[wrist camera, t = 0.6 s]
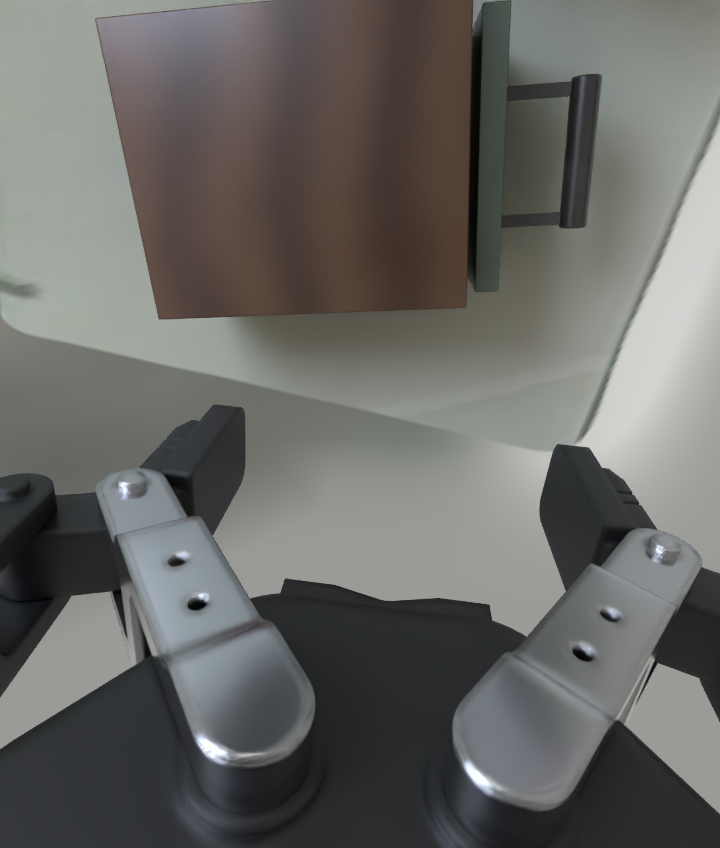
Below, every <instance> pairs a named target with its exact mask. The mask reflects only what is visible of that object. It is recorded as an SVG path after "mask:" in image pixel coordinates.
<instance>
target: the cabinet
mask: <svg viewBox="0 0 720 848" xmlns="http://www.w3.org/2000/svg"><path fill="white" fill-rule="evenodd" d="M95 21H96V25H97V30H98V35H99V39H100V44H101V49H102V54H103V58H104V63H105V68H106V72H107V77H108V82H109V87H110V91H111V96H112V101H113V105H114V110H115V115H116V120H117V124H118V129H119V134H120V138H121V143H122V148H123V153H124V157H125V162H126V167H127V171H128V176H129V181H130V186H131V190H132V195H133V200H134V204H135V209H136V214H137V219H138V223H139V228H140V233H141V237H142V242H143V247H144V252H145V256H146V261H147V266H148V270H149V275H150V280H151V285H152V289H153V294H154V299H155V303H156V308H157V313H158V318H159V319H186V318H212V317H238V316H264V315H290V314H316V313H343V312H369V311H395V310H421V309H447V308H466V306H467V261H468V213H469V166H470V119H471V71H472V24H473V0H272V1H262V2H252V3H242V4H232V5H222V6H212V7H202V8H192V9H182V10H172V11H162V12H152V13H142V14H132V15H122V16H112V17H102V18H96V19H95Z"/></svg>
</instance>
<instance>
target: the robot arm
mask: <svg viewBox="0 0 720 848" xmlns="http://www.w3.org/2000/svg"><path fill="white" fill-rule="evenodd" d="M244 470H245V412H244V409H243V408H241V407H232V406H223V405H213V406H212V407H211V408H210V409H209V410H208V412H207V413H206V414H205V415H204V416H203V417H202V419H201V420H200V421H195V420H191V421H189V422H187V423H185V424H183V425H181V426H179V427H176V428H175V429H174V430H173V431H172V433H171V434H170V435H169V436H168V437H167V440H164V441H163V442H162V444H161V445H160V447H159V448H157V449H156V450H155V451H154V452H153V453H152V454H151V455H150V457H149V458H148V459H147V460H146V461H145V462H144V463H143V464H142V465H141V466H140V467H139V468H134V469H125V470H121V471H117V472H115V473H112V474H110V475H108V476H106V477H104V478H103V479H102V480H100V481H99V483H98V484H97V486H96V492H94V493H85V494H71V495H55V490H54V485H53V482H52V481H51V480H50V479H49V478H48V477H46V476H43V475H39V474H28V473H27V474H15V475H9V476H6V477H1V478H0V697H1V696H2V694H3V693H4V691H5V690H6V689H7V687H8V686H9V684H10V683H11V682H12V680H13V679H14V677H15V676H16V674H17V673H18V671H19V670H20V669H21V667H22V666H23V665H24V663H25V662H26V660H27V659H28V657H29V656H30V655H31V653H32V652H33V650H34V649H35V648H36V646H37V645H38V643H39V642H40V641H41V639H42V638H43V636H44V635H45V633H46V632H47V630H48V629H49V628H50V626H51V625H52V623H53V622H54V620H55V619H56V618H57V617H58V615H59V614H60V612H61V611H62V609H63V608H64V607H65V605H66V604H67V602H68V601H69V599H70V597H71V596H73V595H82V594H90V593H100V592H109V591H110V594H111V599H112V603H113V606H114V609H115V613H116V616H117V619H118V623H119V626H120V629H121V633H122V636H123V639H124V642H125V646H126V649H127V653H128V656H129V660H130V665H131V668H130V669H128V670H126V671H125V672H123V673H121V674H120V675H118V676H117V677H115V678H113V679H112V680H110V681H108V682H107V683H105V684H104V685H102V686H100V687H99V688H98V689H96V690H94V691H92V692H91V693H89V694H87V695H86V696H84V697H83V698H81V699H79V700H78V701H76V702H74V703H73V704H71V705H70V706H68V707H66V708H65V709H63V710H62V711H60V712H58V713H57V714H55V715H53V716H52V717H50V718H49V719H47V720H45V721H44V722H42V723H40V724H39V725H37V726H36V727H34V728H33V729H31V730H29V731H28V732H26V733H24V734H23V735H21V736H20V737H18V738H17V739H15V740H13V741H12V742H10V743H9V744H7V745H6V746H4V747H3V748H2V749H0V848H720V814H719V813H718V812H717V811H716V810H715V809H714V808H712V807H711V806H710V805H709V804H708V803H707V802H706V801H705V800H704V799H703V798H702V797H701V796H699V794H698V793H696V791H694V790H693V789H692V788H691V787H690V786H689V785H688V784H687V783H686V782H685V781H684V780H683V779H682V778H681V777H679V776H678V775H677V774H676V773H675V772H674V771H673V770H672V769H671V768H670V767H669V766H668V765H667V764H666V763H665V762H663V761H662V760H661V759H660V758H659V757H658V756H657V755H656V754H655V753H654V752H653V751H652V750H651V749H650V748H649V747H648V746H646V745H645V744H644V743H643V742H642V741H641V740H640V739H639V738H638V737H637V736H636V735H635V734H633V732H632V731H630V730H629V729H628V728H627V727H626V726H627V724H628V722H629V720H630V718H631V716H632V714H633V712H634V711H635V708H636V706H637V705H638V703H639V701H640V699H641V697H642V695H643V693H644V691H645V689H646V687H647V685H648V684H649V682H650V680H651V678H652V676H653V674H654V672H655V670H656V668H657V665H658V663H660V664H662V665H665V666H668V667H671V668H673V669H676V670H679V671H681V672H684V673H687V674H690V675H692V676H695V677H698V678H700V682H701V684H702V686H703V688H704V690H705V692H706V695H707V697H708V699H709V701H710V703H711V705H712V707H713V709H714V711H715V713H716V715H717V717H718V719H719V721H720V573H717V572H713V571H710V570H708V569H704V568H702V567H701V566H702V559H701V557H700V555H699V554H698V552H697V551H696V550H695V549H694V548H693V547H692V546H690V545H689V544H688V543H686V542H685V541H683V540H681V539H680V538H678V537H676V536H673V535H671V534H668V533H666V532H662V531H659V530H657V528H656V527H655V525H654V524H653V522H652V521H651V519H650V518H649V516H648V515H647V514H646V512H645V511H644V509H643V508H642V506H641V505H639V502H638V500H637V499H636V498H635V496H634V495H632V491H631V490H630V488H629V487H628V485H627V484H626V482H625V481H624V480H623V479H622V478H620V477H619V476H617V475H616V474H615V473H614V472H612V471H611V470H609V469H606V468H602V467H601V466H600V464H599V462H598V461H597V459H596V458H595V456H594V455H593V453H592V451H591V450H590V449H589V448H588V447H579V446H570V445H561V444H558V445H556V447H555V448H554V451H553V454H552V457H551V461H550V465H549V469H548V472H547V476H546V480H545V484H544V487H543V491H542V495H541V499H540V520H541V523H542V526H543V529H544V532H545V534H546V537H547V540H548V543H549V546H550V548H551V551H552V554H553V557H554V559H555V562H556V565H557V568H558V570H559V573H560V576H561V579H562V582H563V584H564V587H565V590H566V592H565V593H564V595H563V596H562V597H561V598H560V599H559V600H558V602H557V603H556V604H555V605H554V606H553V607H552V609H551V610H550V611H549V612H548V613H547V614H546V616H545V617H544V618H543V619H542V620H541V621H540V622H539V624H538V625H537V626H536V627H535V628H534V629H533V631H532V632H531V633H530V634H529V635H528V636H527V637H526V636H524V635H523V634H521V633H519V632H517V631H515V630H514V629H511V628H510V627H507V626H505V625H502V624H500V623H497V622H495V621H492V617H491V612H490V605H488V604H481V603H472V602H465V601H457V600H449V599H441V598H433V599H417V600H401V601H383V600H379V599H377V598H373V597H370V596H367V595H364V594H361V593H358V592H355V591H352V590H349V589H346V588H343V587H339V586H336V585H331V584H323V583H315V582H308V581H300V580H292V579H285V580H284V584H283V587H282V590H281V593H280V594H270V595H264V596H259V597H255V598H251V599H250V598H249V597H248V595H247V593H246V591H245V590H244V588H243V586H242V585H241V583H240V582H239V580H238V578H237V576H236V575H235V573H234V571H233V570H232V568H231V566H230V565H229V563H228V561H227V560H226V558H225V556H224V554H223V553H222V551H221V549H220V548H219V546H218V544H217V543H216V541H215V539H214V538H213V534H214V532H215V530H216V529H217V527H218V525H219V523H220V521H221V519H222V518H223V516H224V514H225V512H226V510H227V509H228V507H229V505H230V503H231V501H232V499H233V497H234V496H235V494H236V492H237V490H238V489H239V487H240V485H241V482H242V480H243V475H244Z"/></svg>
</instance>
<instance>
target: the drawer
mask: <svg viewBox="0 0 720 848" xmlns="http://www.w3.org/2000/svg"><path fill="white" fill-rule="evenodd" d="M510 18H511V0H507V1H496V2H486V3H483V5H482V7H481V10H480V12H479V15H478V17H477V20H476V22H475V24H474V27H473V29H472V71H471V119H470V166H469V213H468V261H467V277H468V279H469V281H470V283H471V285H472V287H473V288H474V290H475V292H494V291H498V287H499V265H500V242H501V228H503V227H522V226H540V225H559V227H560V228H583V227H586V224H587V214H588V205H589V195H590V186H591V176H592V167H593V157H594V147H595V138H596V128H597V119H598V109H599V100H600V90H601V81H602V75H600V74H586V75H580V76H575V77H573V78H572V79H571V81H570V82H558V83H545V84H533V85H520V86H508V87H507V85H508V63H509V40H510ZM568 96H570V100H569V112H568V123H567V135H566V147H565V158H564V170H563V182H562V194H561V205H560V213H559V212H550V213H532V214H514V215H502V197H503V175H504V152H505V130H506V107H507V101H520V100H533V99H546V98H559V97H568Z"/></svg>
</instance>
